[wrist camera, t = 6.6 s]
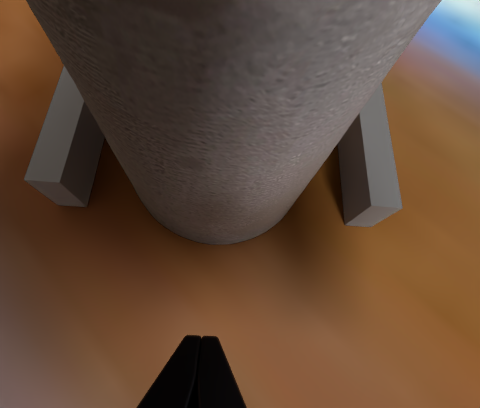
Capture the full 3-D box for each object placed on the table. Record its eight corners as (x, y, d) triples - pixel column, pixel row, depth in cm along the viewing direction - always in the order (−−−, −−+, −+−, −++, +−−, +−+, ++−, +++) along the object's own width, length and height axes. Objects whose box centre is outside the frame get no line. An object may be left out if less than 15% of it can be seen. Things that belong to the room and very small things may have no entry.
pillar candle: (97, 170, 16) (-533, -635, 3) (213, 72, 20) (217, -522, 6) (231, 285, 15) (511, -154, 1) (333, 159, 18) (743, -370, 4)
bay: (370, 227, 17) (402, 208, 14) (57, 204, 16) (23, 179, 13) (351, 70, 21) (372, 32, 18) (104, 45, 20) (86, 0, 17)
